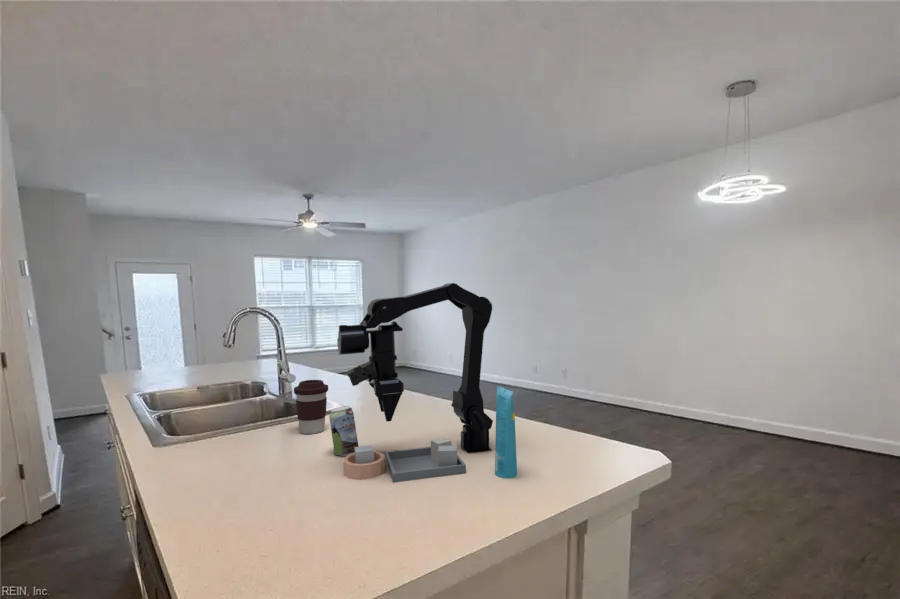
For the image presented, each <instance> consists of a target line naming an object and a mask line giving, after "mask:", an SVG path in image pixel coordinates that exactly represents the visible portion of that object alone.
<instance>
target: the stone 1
mask: <svg viewBox="0 0 900 599" xmlns="http://www.w3.org/2000/svg"><path fill="white" fill-rule="evenodd" d="M374 451H375V450H374V446H373V445H372V444H371V445H363V446H359V447H355V464H366V463H371V462H374Z"/></svg>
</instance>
